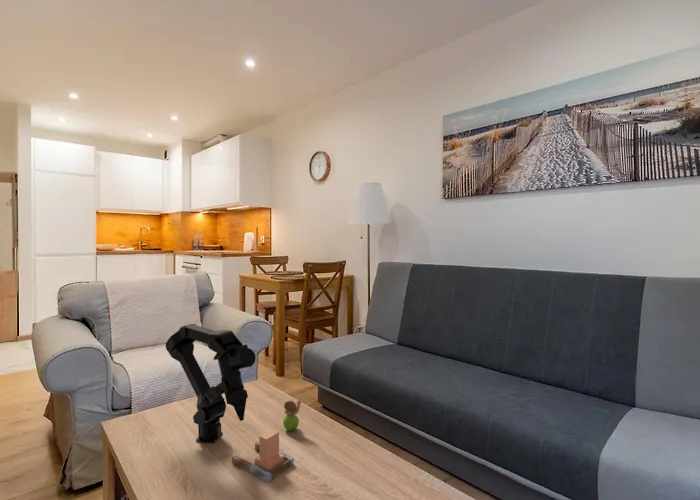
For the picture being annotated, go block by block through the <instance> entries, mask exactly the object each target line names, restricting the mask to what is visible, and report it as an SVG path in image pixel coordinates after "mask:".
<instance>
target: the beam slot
mask: <svg viewBox="0 0 700 500" xmlns="http://www.w3.org/2000/svg"><path fill="white" fill-rule="evenodd" d="M254 450H255V451H258V452H260V444H259V441H257V442H255V443H254ZM279 453H280V454H282V455H284V463H283V464H282V465H280V466H279V467H277V468H276V469H274V470H273V471H271V472H268V471H266V470H264V469H262V468H260V467H258V466H256V465H255V463H252V462H250V461H248V460H246V459H244V458H242V457H240V456H238V455H236V454H234V455H233V456H231V464H232V465H234V466H237V467H238V468H240V469H242V470H244V471H246V472H248V473H249V474H251V475H254V476H255V477H257V478H259V479H261V480H263V481H265V482H267V483H269V482H271V481H272V480H273V479H276V478H277V477H278V476H279V475H280V474H282V473H283V472H284V471H286V470H287V469H289V468H291V467H292V466H293V465H294V463H295V461H294V459H295V458H294V457H292V456H290V455H288V454H286V453H284V452H282V451H280V450H279Z"/></svg>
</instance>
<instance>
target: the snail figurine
mask: <svg viewBox="0 0 700 500" xmlns="http://www.w3.org/2000/svg"><path fill="white" fill-rule="evenodd" d="M301 400H302V396H299V398H298V400H296V403H297V404H296V403H295V401H293V400H287V401H285V403H284V405H283V407H284V410H283V412H284V413H285V414H286V415H285V417H284V418H283V421H282V424H283V426H284V429H286V430H287V431H294V430H296V429H297V428H298V426H299V424H300V420H299V418H298V416H297V414H298V413H299V411H300V407H301V403H302V401H301Z"/></svg>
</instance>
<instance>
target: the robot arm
mask: <svg viewBox="0 0 700 500" xmlns="http://www.w3.org/2000/svg"><path fill="white" fill-rule="evenodd" d="M195 341H197V342H200V343H203V344H206V345H207V348H208V349H209V350H211V351H212V352H214V353H215V354H214V357H213V361H216V360H217V362H218V363H217V364H218V367H219V371H220V372H219V373H220V375H221V377H220V382H219V383H218V384H216V385H215V386H214V385H212V386H210V384H209V381H208V380H207V378H206V376H205V374H204V373H203V370H202V368H201V366H200V364H199V363H198V361H197V359H196V357H195V354H194V351H195V350H194V349H195V344H194V343H195ZM165 349H166V351H167V353H168V354H169V356H170V357H171V358H173V359H174V360H175V361H177V362H179V363H180V366H181V367H182V370H183V371H184V373H185V375H186V378H187V379H188V381H189V383H190V385H191V388H192V389H193V391H194V394H195V395H196V397H197V400H196V410H197V411H196V412H195V413H194V415H193V416H192V419H193V423H194V424H196V425H197V426H198V427H197V428H198V437H196V439H195V442H198V443H199V442H200V443H210V444H215V442H216V441H217V440H218V439H219V438H220V437H221V436H222V435H223V431H222V423H221V418H224V416H225V414H226V408H227V405H230V406H232V407H233V409H234V411H235V413H236V415H237V418H238V419H239V421H240V422H242V421H244V418H245V412H246V404H247V399H248V398H249V395H248V391H247V389H245V386H244V383H243V379H242V373H241V371H240V370H242V369H246V368H251V367H253V365H254V364H255V362H256V354H255V352H254V351H253V349H251V348H249V347H248V344H243V342H241V340H239V338H238V337H237V336H236V334H235V333H234V332H233V331H232V330H228V329H227V330H226V329H225V330H224V329H223V330H213V329H210V328H206V327H203V326H199V325H197V324H196V323H195V324H194V323H189V324H186V325H183V326H180V327H179V329H178V330H177V331H176V332H175V333H174V334H172V335H170V336H169V338H168V339H167V341H166V342H165ZM223 395H224V397H225V398H224V397H223Z"/></svg>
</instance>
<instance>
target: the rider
mask: <svg viewBox="0 0 700 500" xmlns="http://www.w3.org/2000/svg"><path fill="white" fill-rule="evenodd" d="M258 438H259V439H258V440H259V441H258V442H259V444H260V451H259V455H257V456H256V457H254V465H256V466H258V467H260V468H262V469H264V470H266V471H268V472H271V471H273V470H274V469H276V468H277V467H279V466H280V465H282V464H283V463H284V455H282V454H280V453H279V451H280V432H279V431H277V430H274V429H269V430H268V431H266V432H264V433H263V434H261V435H259V437H258Z"/></svg>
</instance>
